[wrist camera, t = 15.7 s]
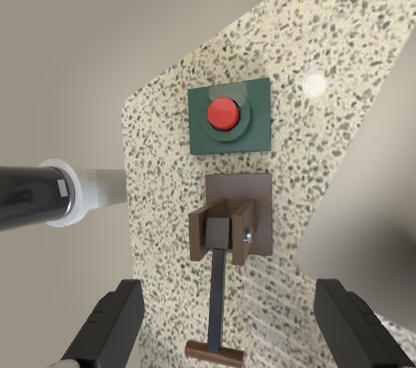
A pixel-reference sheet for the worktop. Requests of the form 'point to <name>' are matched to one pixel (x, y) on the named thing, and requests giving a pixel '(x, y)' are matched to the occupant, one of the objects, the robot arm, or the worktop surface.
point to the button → (223, 113)
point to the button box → (246, 125)
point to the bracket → (236, 214)
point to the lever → (217, 299)
